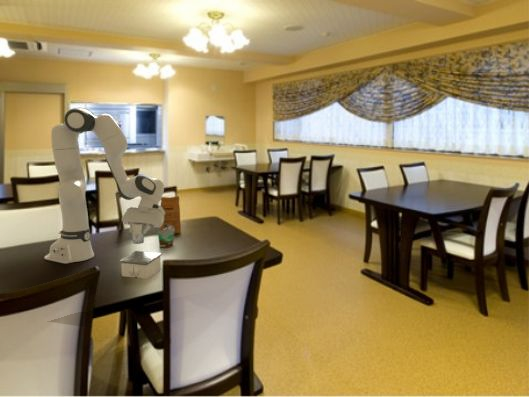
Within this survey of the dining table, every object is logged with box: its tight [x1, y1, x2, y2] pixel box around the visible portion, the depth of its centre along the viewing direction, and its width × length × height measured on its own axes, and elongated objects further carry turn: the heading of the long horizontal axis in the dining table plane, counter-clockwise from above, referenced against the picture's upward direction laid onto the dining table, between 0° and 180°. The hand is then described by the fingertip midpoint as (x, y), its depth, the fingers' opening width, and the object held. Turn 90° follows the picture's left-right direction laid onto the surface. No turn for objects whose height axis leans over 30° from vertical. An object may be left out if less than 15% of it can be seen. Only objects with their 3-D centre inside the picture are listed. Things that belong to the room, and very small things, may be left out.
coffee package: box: [159, 195, 182, 235], centre depth 234 cm, size 10×12×22 cm
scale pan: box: [119, 250, 163, 265], centre depth 171 cm, size 13×13×1 cm
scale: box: [120, 256, 162, 280], centre depth 172 cm, size 12×12×6 cm
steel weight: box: [131, 223, 145, 245], centre depth 185 cm, size 5×5×9 cm
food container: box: [157, 225, 175, 249], centre depth 209 cm, size 12×6×10 cm, turn 168°
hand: (137, 232), depth 185 cm, fingers closed on steel weight, 5 cm apart
